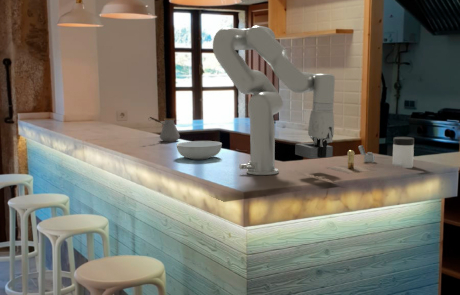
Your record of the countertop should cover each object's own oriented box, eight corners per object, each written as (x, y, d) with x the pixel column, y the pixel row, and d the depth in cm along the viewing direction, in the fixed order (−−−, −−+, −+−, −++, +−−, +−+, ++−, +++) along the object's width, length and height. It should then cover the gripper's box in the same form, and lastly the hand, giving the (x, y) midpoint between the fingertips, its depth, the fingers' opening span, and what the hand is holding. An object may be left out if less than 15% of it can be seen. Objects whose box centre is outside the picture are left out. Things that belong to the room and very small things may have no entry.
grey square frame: (310, 158, 202) (311, 147, 202) (295, 154, 211) (295, 143, 210) (332, 157, 207) (332, 146, 206) (316, 152, 216) (316, 142, 215)
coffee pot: (169, 139, 325) (169, 114, 322) (184, 140, 317) (183, 114, 315) (142, 143, 308) (142, 116, 306) (157, 144, 301) (156, 117, 299)
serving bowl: (201, 153, 269) (201, 139, 268) (231, 158, 254) (231, 143, 253) (167, 158, 255) (167, 143, 254) (197, 163, 240) (197, 147, 239)
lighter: (374, 164, 233) (375, 146, 231) (373, 165, 231) (373, 146, 230) (359, 163, 237) (359, 144, 236) (357, 163, 236) (358, 145, 235)
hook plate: (348, 176, 208) (348, 173, 208) (325, 170, 220) (325, 167, 220) (376, 172, 215) (376, 169, 214) (352, 167, 227) (352, 164, 227)
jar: (393, 164, 233) (394, 136, 232) (413, 165, 230) (414, 137, 229) (391, 167, 225) (392, 138, 224) (412, 169, 222) (413, 139, 221)
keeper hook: (350, 169, 215) (350, 150, 214) (345, 168, 218) (346, 150, 217) (355, 168, 217) (356, 150, 216) (351, 167, 219) (351, 149, 218)
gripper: (301, 105, 208) (299, 153, 211) (328, 109, 194) (325, 161, 197) (317, 105, 211) (315, 152, 214) (344, 109, 197) (341, 159, 200)
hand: (320, 156), depth 205 cm, fingers closed on grey square frame, 2 cm apart
